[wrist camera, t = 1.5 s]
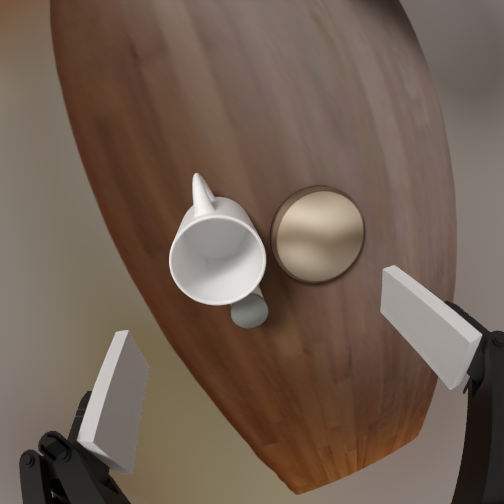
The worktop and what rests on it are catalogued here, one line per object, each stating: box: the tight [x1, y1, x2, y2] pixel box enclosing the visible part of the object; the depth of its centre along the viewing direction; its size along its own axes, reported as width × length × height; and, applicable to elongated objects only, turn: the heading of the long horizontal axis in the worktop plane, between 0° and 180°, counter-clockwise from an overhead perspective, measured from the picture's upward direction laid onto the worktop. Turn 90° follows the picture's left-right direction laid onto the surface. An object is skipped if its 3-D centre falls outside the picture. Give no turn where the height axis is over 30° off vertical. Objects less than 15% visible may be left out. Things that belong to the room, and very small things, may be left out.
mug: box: [169, 173, 266, 305], centre depth 28 cm, size 9×12×11 cm
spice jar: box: [231, 284, 268, 328], centre depth 34 cm, size 4×4×7 cm
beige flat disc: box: [270, 186, 365, 283], centre depth 35 cm, size 13×13×2 cm
